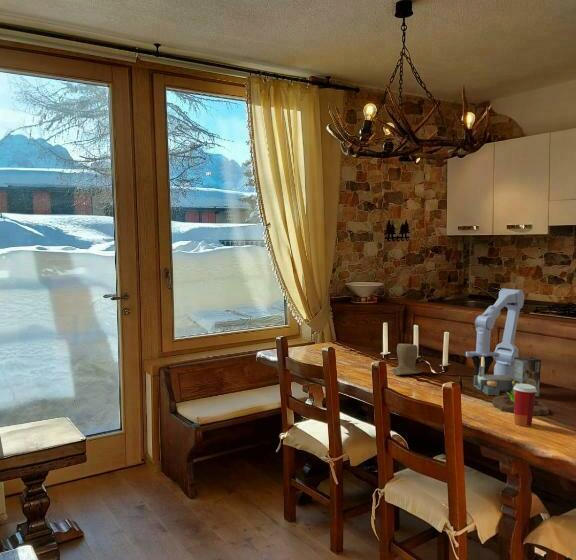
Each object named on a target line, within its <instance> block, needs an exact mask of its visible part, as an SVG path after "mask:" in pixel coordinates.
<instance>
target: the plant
mask: <svg viewBox="0 0 576 560" xmlns="http://www.w3.org/2000/svg"><path fill="white" fill-rule="evenodd" d="M517 382H518V384H520V382H519V381H516V380H515V381H513V382H512V385H515V384H516V383H517ZM536 390H537V389H536ZM505 393H506V395H505V394H504V395H499V396H495V397H494V398H492V406H493V408H495V409H498V410H500V411H501V412H504V413H508V412H509V413H511V414H514V392H512V391H511V392H505ZM549 409H550V408H549V407H548V406H547V405H546V404H544V402H542V401H539V400H537V399H535V402H534V409H533V416H541V415H544V416H547V415H549Z"/></svg>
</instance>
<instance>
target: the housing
mask: <svg viewBox="0 0 576 560" xmlns="http://www.w3.org/2000/svg"><path fill="white" fill-rule="evenodd" d="M478 375H479V374H478ZM478 375H473V387H474V388H475V387H476V388H475V389H477V391H479V390H480V391H479V392H482V393H483V392H484V393H483V394H485V395H486V394H487V395H486V396H488V395H491V397H493V396H492V395H495V397H496V396H500V393H506V392H508V393H511V391H512V390H513V385H512V382H513V378H511V377H510V378H511V380H482V379H480V386H479V385H478V380H477V379H478ZM487 381H496V382H497V386H496V387H494V388H489V386H488V385H487ZM500 391H501V392H500Z"/></svg>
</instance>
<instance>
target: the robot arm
mask: <svg viewBox="0 0 576 560" xmlns="http://www.w3.org/2000/svg"><path fill="white" fill-rule="evenodd" d="M524 303H525V293H524V291H523V290H522V289H513V288H512V289H511V288H505V287H503V288H501V289H500V291H498V298H497V299H496V301H495V303H494V304H493V305H489V306H488V307H487V308H486V309H485V311H483V313H482V314H479V315H478V316H477V317H476V318H475V320H474V326H475V332H476V344H475V351H474V350H473V351H472V350H471V351H465V356H466V357H467V358H469V357H470V358H471V360H472V362H473V365H474V369H475V373H476V374H479V366H481V365H480V364H481V358H483V360H484V365H483V367H484V374H488V372H489V370H490V366H491V365H492V363H493V362H494V361H495V364H494V367H493V375H509V376H510V377H511V378H513V371H514V357H519V348H518V347H517V346H516V344H514V343H515V338H516V332H517V327H518V322H519V321H518V320H519V317H520V311H521V309H522V308H523V307H524ZM504 307H505V308H507V314H506V320H505V325H504V330H503V334H502V335H503V336H502V342H500V343H498V344H496V347H495V350H494V351H490V350H491V349H490V348H491V334H492V333H491V332H492V331H491V330H492V329H493V328H494V326H495V323H496V319H497V318H498V317H499V316H500V315H501V310H502V309H503V308H504Z"/></svg>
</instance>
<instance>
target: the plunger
mask: <svg viewBox="0 0 576 560" xmlns="http://www.w3.org/2000/svg"><path fill="white" fill-rule="evenodd" d="M487 385H488V386H489V388H494V387H496V386H497V382H496V381H487Z"/></svg>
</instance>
